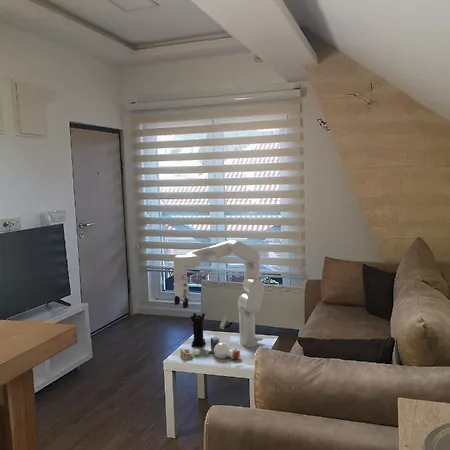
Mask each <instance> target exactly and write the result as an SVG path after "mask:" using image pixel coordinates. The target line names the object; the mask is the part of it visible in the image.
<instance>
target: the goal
mask: <svg viewBox="0 0 450 450" xmlns="http://www.w3.org/2000/svg"><path fill="white" fill-rule="evenodd" d="M179 349H180V351H179V352H180V355H181V356H182V357H181V356H180V355H179V356H180V357H181V358H182V359H183V360H184V361H185V359H186V360H190V359H191V360H192V359H194V358H193V353H194V352H190V349H189V348H185V349H184V348H183V347H181V348H179Z"/></svg>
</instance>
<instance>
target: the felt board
mask: <svg viewBox="0 0 450 450" xmlns="http://www.w3.org/2000/svg"><path fill="white" fill-rule="evenodd" d="M192 353H193V358H192V359H198V358H199V359H200V358H203V357H204V358H205V357H206V358H207V357H211V356H215V354H213V353H208V354H207V355H205V354H204V352H203V351H200V354H199V355H195V354H194V352H192ZM179 356H180V357H181V358H182V356H181V355H179ZM185 360H187V359H185ZM185 360H184V361H185Z"/></svg>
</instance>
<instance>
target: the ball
mask: <svg viewBox="0 0 450 450" xmlns="http://www.w3.org/2000/svg"><path fill="white" fill-rule="evenodd" d="M200 352H201V350H200V349H198V348H196V349H194V350H193V353H194V354H195V355H199V354H200Z"/></svg>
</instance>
